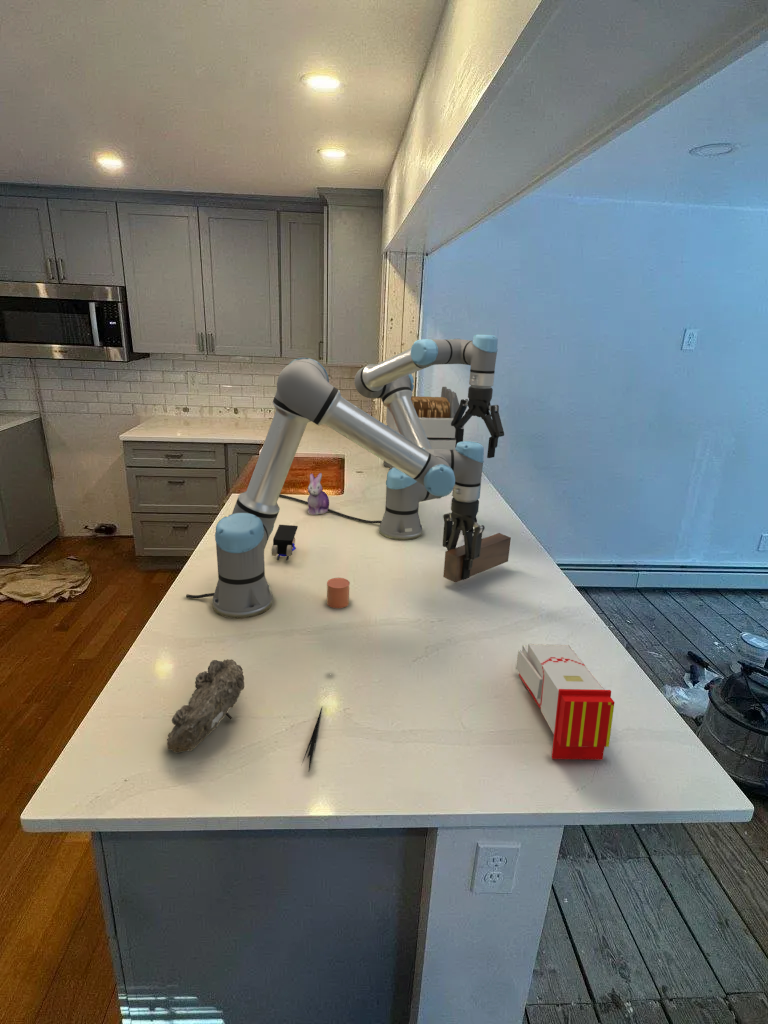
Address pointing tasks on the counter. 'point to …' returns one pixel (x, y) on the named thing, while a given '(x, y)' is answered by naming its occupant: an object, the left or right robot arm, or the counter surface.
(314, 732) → the feather
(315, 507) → the figurine
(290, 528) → the figurine character
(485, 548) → the beam
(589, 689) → the toy
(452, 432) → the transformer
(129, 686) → the counter surface
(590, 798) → the counter surface
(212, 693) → the fossil
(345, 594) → the orange clay cylinder
